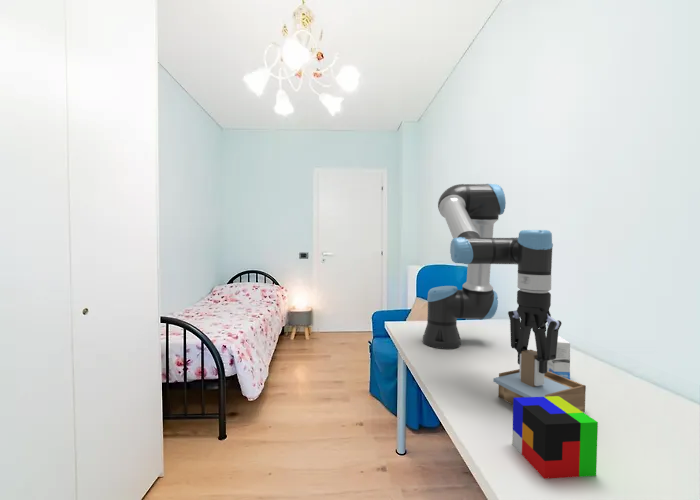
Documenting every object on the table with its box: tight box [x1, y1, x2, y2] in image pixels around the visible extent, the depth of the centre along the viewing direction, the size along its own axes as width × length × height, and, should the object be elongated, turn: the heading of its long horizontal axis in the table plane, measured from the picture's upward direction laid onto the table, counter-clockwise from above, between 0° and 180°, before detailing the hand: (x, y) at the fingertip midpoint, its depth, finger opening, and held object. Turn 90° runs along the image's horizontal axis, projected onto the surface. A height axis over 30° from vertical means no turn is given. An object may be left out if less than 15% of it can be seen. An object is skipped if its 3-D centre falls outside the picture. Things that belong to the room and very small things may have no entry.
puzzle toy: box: [511, 396, 599, 480], centre depth 65 cm, size 10×10×10 cm
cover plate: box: [492, 349, 570, 397], centre depth 85 cm, size 12×13×9 cm
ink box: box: [547, 335, 571, 380], centre depth 105 cm, size 9×5×12 cm, turn 168°
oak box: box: [497, 368, 587, 413], centre depth 86 cm, size 14×14×6 cm
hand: (531, 381), depth 85 cm, fingers closed on cover plate, 3 cm apart
